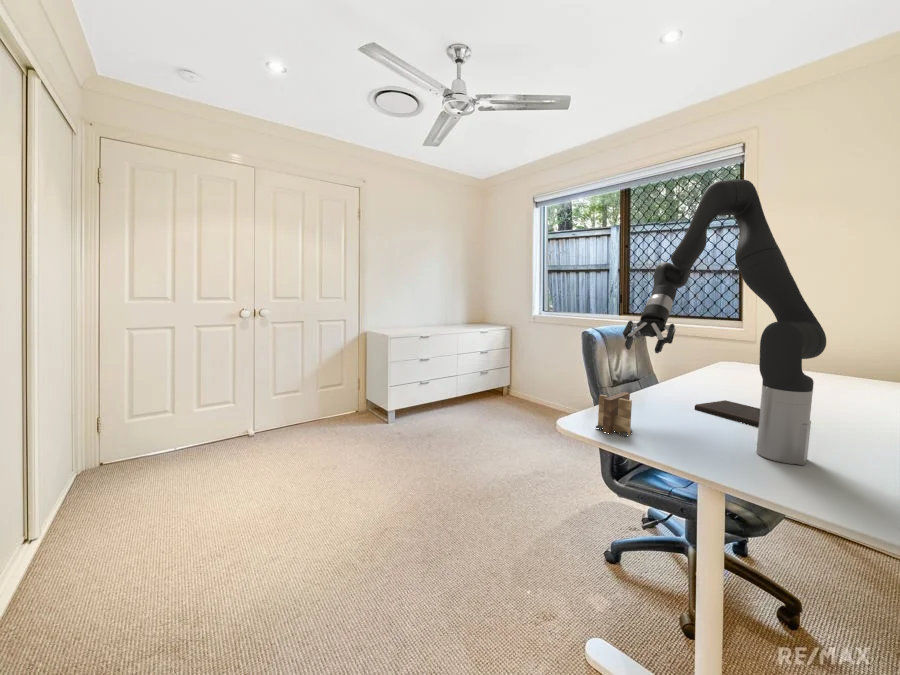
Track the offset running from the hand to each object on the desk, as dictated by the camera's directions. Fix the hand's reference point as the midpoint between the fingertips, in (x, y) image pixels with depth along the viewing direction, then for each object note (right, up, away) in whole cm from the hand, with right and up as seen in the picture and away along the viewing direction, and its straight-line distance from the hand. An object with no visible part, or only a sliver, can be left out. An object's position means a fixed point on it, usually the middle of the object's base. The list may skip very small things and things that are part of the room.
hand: (641, 349), depth 121 cm
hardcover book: (+37, -23, +7) cm, 44 cm away
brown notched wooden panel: (-11, -23, -6) cm, 26 cm away
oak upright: (-12, -23, -8) cm, 28 cm away
